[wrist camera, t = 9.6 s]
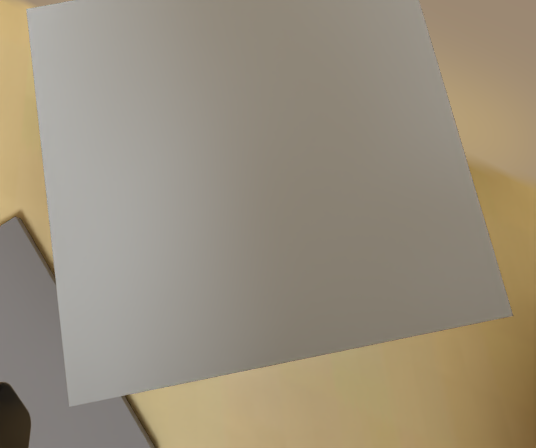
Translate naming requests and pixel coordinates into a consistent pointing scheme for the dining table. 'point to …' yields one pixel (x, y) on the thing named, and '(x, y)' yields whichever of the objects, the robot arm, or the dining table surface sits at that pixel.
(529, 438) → the dining table surface
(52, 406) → the mat
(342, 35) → the cover
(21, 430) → the robot arm
